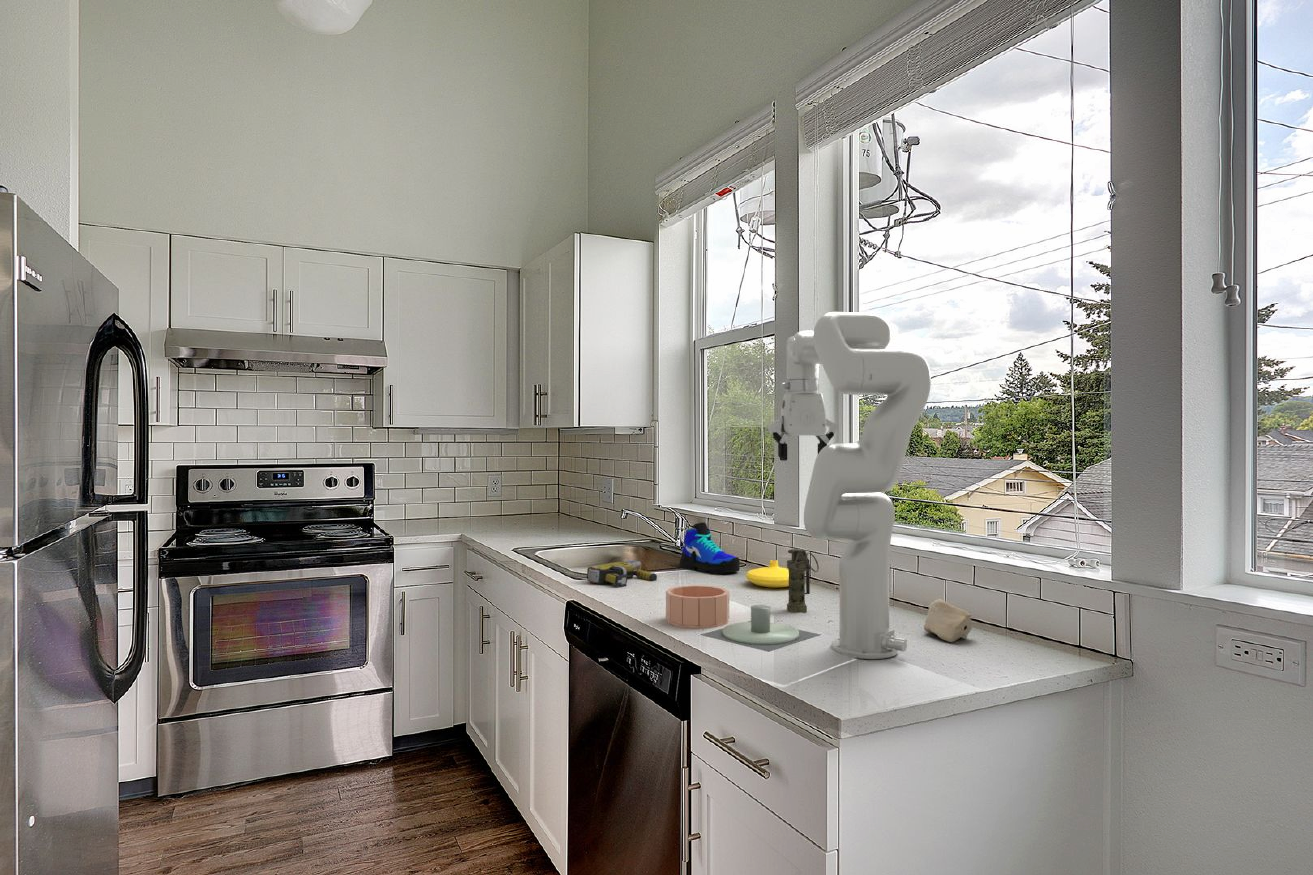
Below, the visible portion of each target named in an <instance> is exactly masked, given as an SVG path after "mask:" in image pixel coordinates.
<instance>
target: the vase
mask: <svg viewBox="0 0 1313 875" xmlns="http://www.w3.org/2000/svg"><path fill="white" fill-rule="evenodd" d="M745 578H746V579H747V580H748V581H749V582H751V583H752V584H754V585H756V586H759V587H766V588H776V589H777V588H787V587H789V570H788V568H787V567H780V566H779V562H778V560H777V559H771V560H769V566H764V567H758V568H753V569H750V570H748V571H747V572H746V573H745Z"/></svg>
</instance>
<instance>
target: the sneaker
mask: <svg viewBox="0 0 1313 875" xmlns="http://www.w3.org/2000/svg"><path fill="white" fill-rule="evenodd" d="M740 561H741V560H740V557H738V556H735V555H732V554H729V553H726V552H725V551H724V550H722V548H720V547H719V546H718V544H716V542H715V541H714V540H713V539H712V533H711V530H710V528H708V524H707V523H706V522H704V521H703V522H698V523H695V524H693V525H692V526H691V527H690V528H687V529H686V530H685V535H684V540H683V543H682V551H681V557H680V560H679V567H680V568H681V569H683V570H688V571H697V572H698V573H701V574H702V573H703V574H710V575H723V574H729V573H737V572H739V571H740V567H741V566H740Z"/></svg>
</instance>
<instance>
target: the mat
mask: <svg viewBox="0 0 1313 875" xmlns="http://www.w3.org/2000/svg"><path fill="white" fill-rule="evenodd" d="M747 622H751V620H749V621H747ZM723 628H724V627H723ZM723 628H719V629H715V630H711V631H708V632H704V633H700V634H699V636H704V637H707V638H712V639H716V640H720V641H722V642H723V641H724V642H728V643H732V644H736V645H741V646H744V647H748V648H752V649H757V650H760V651H764V652H772V651H775V650H779V649H782V648H785V647H788V646H791V645H794V644H796V643H800V642H803V641H806V640H810V639H813V638H816V637H819V636H822V634H820V633H815V632H811V631H807V630H803V629H797V628H796V629H797V630H798V631H799V638H798V639H797V640H795V641H792V642H789V643H783V644H774V645H757V644H746V643H740V642H736V641H732V640H729V639H727V638H725V637H724V636H723Z"/></svg>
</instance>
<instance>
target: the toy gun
mask: <svg viewBox="0 0 1313 875" xmlns="http://www.w3.org/2000/svg"><path fill="white" fill-rule="evenodd" d="M636 560H637V559H636ZM636 560H635V559H632V560H628V561H627V560H626V561H616V562H610V563H604V564H597V565H592V566H588V567H587V569H586V580H587V581H588V582H589V583H590V584H594V583H595V584H598V585H599V584H601V585H604V584H611V583H613V585H614V587H615V588H620V587H626V586H627V585H628V584H627V583H628V579H632V578H633V577H634V576H635V577H637V578H640V579H643V580H646V581H650V582H655V581H657V579H658V576H657V574H656V573H654V572H648V571H646V570H642V569H641V567H642V562H641V560H637V561H636ZM637 567H639V568H638V569H637ZM603 583H604V584H603Z"/></svg>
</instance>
